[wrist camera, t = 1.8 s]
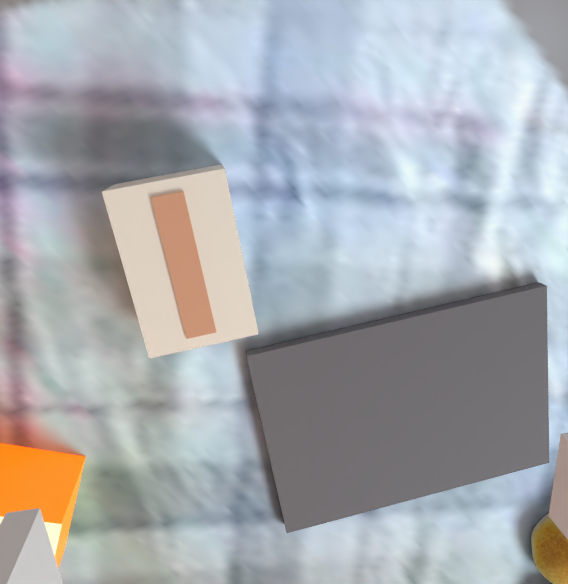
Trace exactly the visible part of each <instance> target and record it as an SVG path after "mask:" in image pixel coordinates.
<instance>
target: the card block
mask: <svg viewBox="0 0 568 584" xmlns="http://www.w3.org/2000/svg"><path fill="white" fill-rule="evenodd" d="M102 195H103V198H104V202H105V205H106V208H107V212H108V215H109V219H110V222H111V226H112V229H113V233H114V236H115V240H116V243H117V247H118V250H119V254H120V257H121V261H122V264H123V268H124V271H125V275H126V278H127V282H128V285H129V289H130V292H131V296H132V299H133V303H134V306H135V310H136V313H137V317H138V320H139V324H140V327H141V331H142V334H143V338H144V341H145V345H146V348H147V352H148V355H149V358H154V357H158V356H163V355H167V354H172V353H177V352H181V351H186V350H190V349H195V348H199V347H204V346H208V345H213V344H217V343H222V342H226V341H231V340H235V339H240V338H244V337H249V336H253V335H258V329H257V324H256V319H255V314H254V309H253V304H252V299H251V295H250V290H249V285H248V280H247V275H246V270H245V265H244V260H243V255H242V251H241V246H240V241H239V236H238V231H237V226H236V221H235V216H234V211H233V207H232V202H231V197H230V192H229V187H228V182H227V177H226V172H225V168H224V167H223V165H222V164H220V165H215V166H209V167H204V168H199V169H193V170H188V171H183V172H177V173H172V174H167V175H161V176H156V177H151V178H145V179H140V180H135V181H129V182H124V183H119V184H114V185H112V186H111V187H109V188H107V189H105V190H104V191H102Z"/></svg>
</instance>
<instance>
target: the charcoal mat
mask: <svg viewBox="0 0 568 584" xmlns="http://www.w3.org/2000/svg"><path fill="white" fill-rule="evenodd" d="M245 352H246V357H247V362H248V366H249V370H250V375H251V379H252V383H253V388H254V392H255V397H256V401H257V405H258V410H259V414H260V418H261V423H262V427H263V431H264V436H265V440H266V445H267V449H268V453H269V458H270V462H271V466H272V471H273V475H274V479H275V484H276V488H277V493H278V497H279V501H280V506H281V510H282V514H283V519H284V523H285V527H286V532H287V533H289V532H293V531H297V530H300V529H304V528H308V527H312V526H315V525H319V524H323V523H326V522H330V521H334V520H338V519H341V518H345V517H349V516H352V515H356V514H360V513H364V512H367V511H371V510H375V509H378V508H382V507H386V506H390V505H393V504H397V503H401V502H404V501H408V500H412V499H416V498H419V497H423V496H427V495H430V494H434V493H438V492H442V491H445V490H449V489H453V488H456V487H460V486H464V485H468V484H471V483H475V482H479V481H482V480H486V479H490V478H494V477H497V476H501V475H505V474H509V473H512V472H516V471H520V470H523V469H527V468H531V467H535V466H538V465H542V464H546V463H549V418H548V351H547V286H546V285H543V284H541V283H534V284H530V285H526V286H522V287H517V288H513V289H509V290H505V291H500V292H496V293H492V294H487V295H483V296H479V297H475V298H470V299H466V300H462V301H458V302H453V303H449V304H445V305H440V306H436V307H432V308H428V309H423V310H419V311H415V312H411V313H406V314H402V315H398V316H393V317H389V318H385V319H381V320H376V321H372V322H368V323H364V324H359V325H355V326H351V327H346V328H342V329H338V330H334V331H329V332H325V333H321V334H317V335H312V336H308V337H304V338H299V339H295V340H291V341H287V342H282V343H278V344H274V345H270V346H265V347H261V348H257V349H252V350H248V351H245Z"/></svg>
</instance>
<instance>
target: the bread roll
mask: <svg viewBox="0 0 568 584" xmlns="http://www.w3.org/2000/svg"><path fill="white" fill-rule="evenodd" d="M548 515H549V513H548V514H546V515H545V516H544V517H543V518H542V519H541V520H540V521H539V522H538V523H537V524H536V526H535V527H534V529H533V531H532V536H531V543H532V555H533V559H534V562H535V565H536V567H537V569H538V570H539V572H540V573H541V574H542V575H543V576H544V577H545V578H546V579H547V580H548V581H550V582H551V583H553V584H568V539H567V538H566V537H565V536H564V535H563V533H562V532H561V531H560V530H559V528H558V527H557V526H556V525H555V523H554V522H553V521H552V520H551V519H550V517H549V516H548Z"/></svg>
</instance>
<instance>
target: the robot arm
mask: <svg viewBox="0 0 568 584" xmlns="http://www.w3.org/2000/svg"><path fill="white" fill-rule="evenodd" d="M548 516H549V517H550V519H551V520H552V521H553V522H554V523H555V525H556V526H557V527H558V528H559V530H560V531H561V532H562V533H563V535H564V536H565V537H566V538H567V539H568V433H564V434H561V437H560V444H559V450H558V457H557V463H556V469H555V476H554V482H553V489H552V495H551V502H550V508H549V515H548ZM0 584H63V583H62V579H61V576H60V573H59V569H58V566H57V563H56V559H55V556H54V553H53V549H52V546H51V543H50V539H49V536H48V533H47V529H46V526H45V523H44V519H43V516H42V513H41V510H40V508H36V509H29V510H22V511H14V512H7V513H6V514H5V516H4V518H3V520H2V522H1V524H0Z"/></svg>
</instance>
